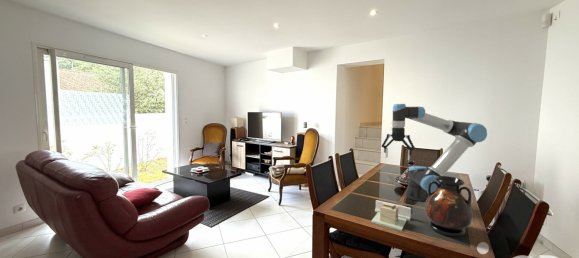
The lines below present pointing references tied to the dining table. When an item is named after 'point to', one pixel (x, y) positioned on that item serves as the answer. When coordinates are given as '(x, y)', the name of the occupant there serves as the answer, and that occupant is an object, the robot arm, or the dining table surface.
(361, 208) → the dining table surface
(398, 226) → the display pad
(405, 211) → the white slab
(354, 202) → the dining table surface
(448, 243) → the dining table surface
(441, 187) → the amphora vase
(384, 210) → the maple cube
